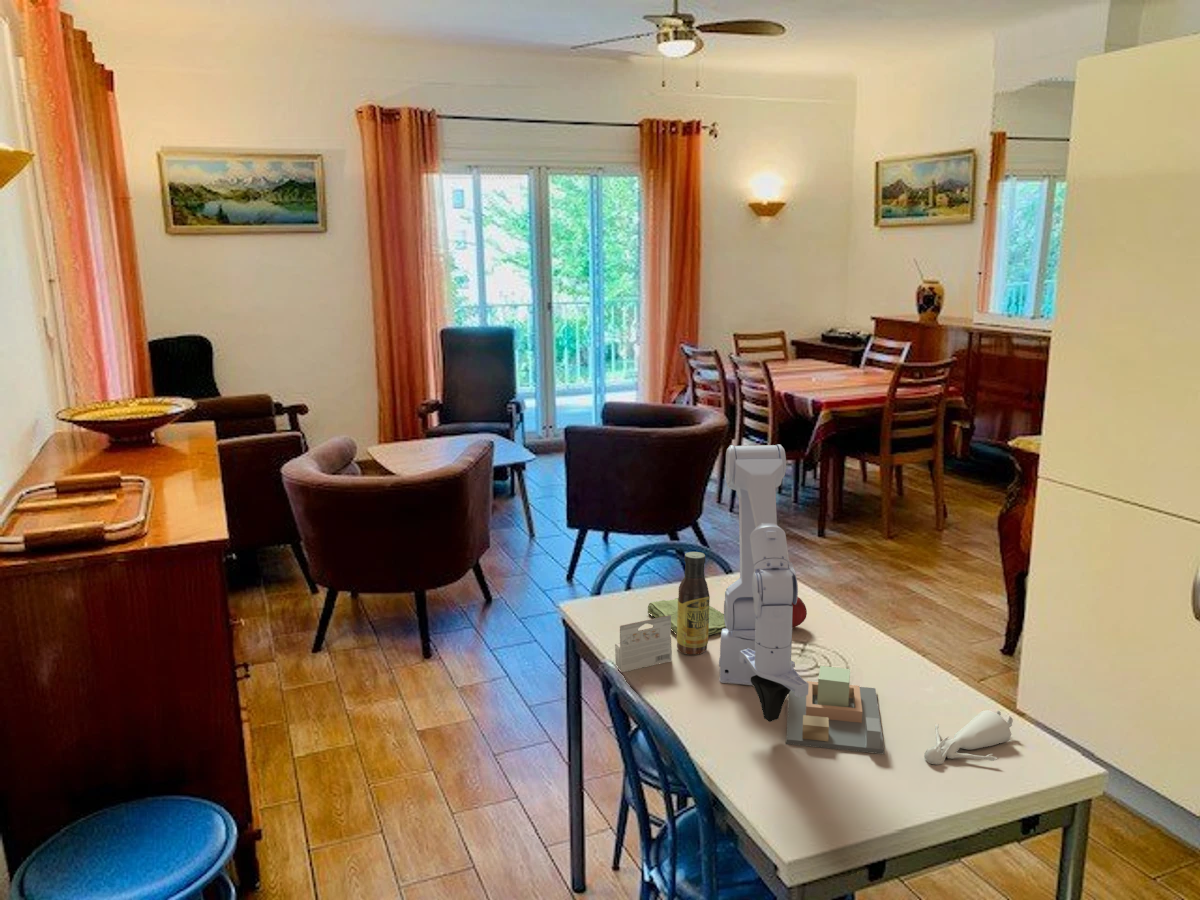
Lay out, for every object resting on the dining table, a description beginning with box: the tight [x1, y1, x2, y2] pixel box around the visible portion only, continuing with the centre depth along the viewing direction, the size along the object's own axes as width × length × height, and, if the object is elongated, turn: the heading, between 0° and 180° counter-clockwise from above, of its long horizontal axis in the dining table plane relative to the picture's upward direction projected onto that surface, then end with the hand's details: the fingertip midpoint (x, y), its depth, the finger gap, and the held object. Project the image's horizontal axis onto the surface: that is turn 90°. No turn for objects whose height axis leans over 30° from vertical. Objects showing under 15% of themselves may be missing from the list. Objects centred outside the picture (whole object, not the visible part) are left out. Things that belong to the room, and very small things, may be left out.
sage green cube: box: [817, 665, 851, 707], centre depth 149 cm, size 5×5×6 cm
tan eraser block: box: [802, 715, 829, 741], centre depth 140 cm, size 4×3×2 cm
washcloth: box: [647, 597, 727, 637], centre depth 187 cm, size 13×18×3 cm
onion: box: [792, 596, 808, 629], centre depth 182 cm, size 6×6×8 cm
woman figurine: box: [923, 709, 1014, 765], centre depth 138 cm, size 12×4×18 cm
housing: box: [785, 680, 885, 755], centre depth 147 cm, size 15×20×4 cm
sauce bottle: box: [676, 551, 711, 656], centre depth 172 cm, size 7×6×20 cm
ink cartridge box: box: [614, 615, 673, 673], centre depth 167 cm, size 2×11×10 cm, turn 113°
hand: (771, 718), depth 142 cm, fingers closed
